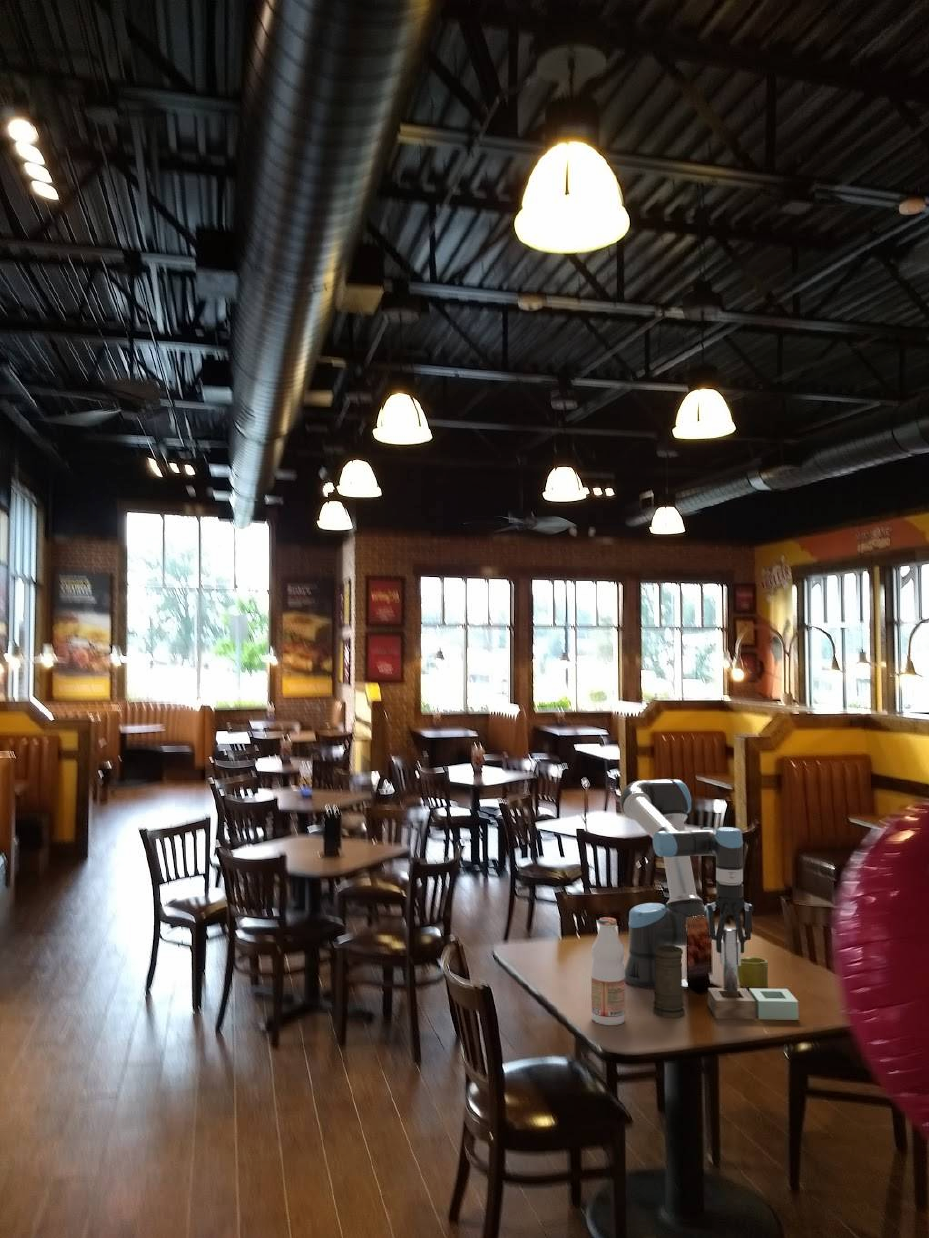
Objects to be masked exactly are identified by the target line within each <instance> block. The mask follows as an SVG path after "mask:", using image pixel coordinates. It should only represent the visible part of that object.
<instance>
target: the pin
mask: <svg viewBox="0 0 929 1238" xmlns="http://www.w3.org/2000/svg"><path fill="white" fill-rule="evenodd" d="M722 940H723V942H724V962H725V965H722V971H723V972H722V976H723V980H722V981H723V984H722V985H723V986H722V988H723V989H724V990H726V991H731V992H734V991H737V990H738V988H739V985H738V984H739V979H738V964H737V940H738V934H737V929H736V928H735V927H724V931H723V936H722Z"/></svg>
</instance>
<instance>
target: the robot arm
mask: <svg viewBox="0 0 929 1238" xmlns="http://www.w3.org/2000/svg"><path fill="white" fill-rule="evenodd" d="M619 804H620V808H621V810H622V812H623V813H624V815H626V817H627V818H629V819H631V820H634V821H635V822H636V823H637V824H638V825H640V827H641V828H642V829H643V830H644V832H646V833H647V834H648V835H649V837H650V838H652V847H653V850H654V853H655V855H656V856H658V857H661V858H662V857H663V863H664V870H665V875H666V880H667V881H666V882H667V889H668V893H669V899H668V901H667V902H666V903H665V904H663V903H659V902H646V903H642V904H638V905H635V906H633V907H632V908H631V909H630V910H629V912H628V923H627V924H628V946H629V947H628V950H629V951H628V952H629V953H628V958H627V962H626V965H625V966H624V969H625V984H628V985H631V986H633V987H637V988H644V989H645V988H646V989H655V965H654V962H655V956H654V952H653V949H654V947H656V946H661V945H670V946H676V947H681V946H683V947H684V946H688V945H687V931H686V927H685V925H686V918H687V917H693V916H697V915H700V914H702V915H704V916H705V917H709V919H708V921H709V935H710V940H713V941H715V946H716V948H715V950H716V952H717V954H718V953H719V963H720V965H721V966H723V965H725V962H724V942H723V931H724V928H725V925H726V920H727V918H728V917H729V916H733V919H734V924H735V925H734V926H735V929H737V964H738V966H741V958H742V954H744V953H745V943H746V941H751V939H752V914H753V912H754V910H755V909H754V907H755V906H754V905H752V904H751V903H747V902H745V899H744V885H743V881H744V873H743V872H744V870H743V869H744V867H743V866H744V863H743V860H744V859H743V858H744V857H743V855H744V853H743V852H744V851H743V850H744V840H743V832H742V830H741V829H739V828H737V827H733V826H732V827H731V826H730V827H729V826H728V827H727V826H723V827H722V826H721V827H718V828H715V827H706V826H705V827H703V828H701V829H691V830H690V829H689V830H686V829H685V828H686V827H685V822H686V820H687V819H688V814H689V813H690V812H691V809H692V797H691V793H690V790H689V788H688V786H687V785H686V783H685V782H683V781H682V780H681V779H671V778H667V779H639V780H635V781H632V782H630V783H629V784H628V785H626V786H624V789H623V790H622V791H621V793H620V797H619ZM697 856H700V857H701V856H713V857H714V858H715V880H716V881H717V882H716V884H715V888H716V889H715V892H716V897H715V899H714V901H713V902H711V903H706V904H705V905H704V902H703V899H702V898H701V897H700V896H699V895H698V894H697V890H696V888H697V887H696V883H695V877H694V873H693V867H692V860H691V857H697ZM716 908H717V909H718V910H719V911H720V912H719V919H718V923H717V924H718V925H717V929H716V922H715V912H714V911H716ZM743 908H744V911H745V913H744V916H745V917H744V931H743V927H742V922H741V916H740V912H741V910H742V909H743Z"/></svg>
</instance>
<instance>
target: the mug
mask: <svg viewBox="0 0 929 1238" xmlns="http://www.w3.org/2000/svg"><path fill="white" fill-rule="evenodd" d="M768 963H769V962H768V960H767V959H764V958H762V957H750V956H744V957H741V966H738V984H739V985H740V986H741V987H740V988H746V989H747V990H749V988H759V989H768V987H769V981H768V980H769V977H768V975H769V974H768V973H769V964H768Z"/></svg>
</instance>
